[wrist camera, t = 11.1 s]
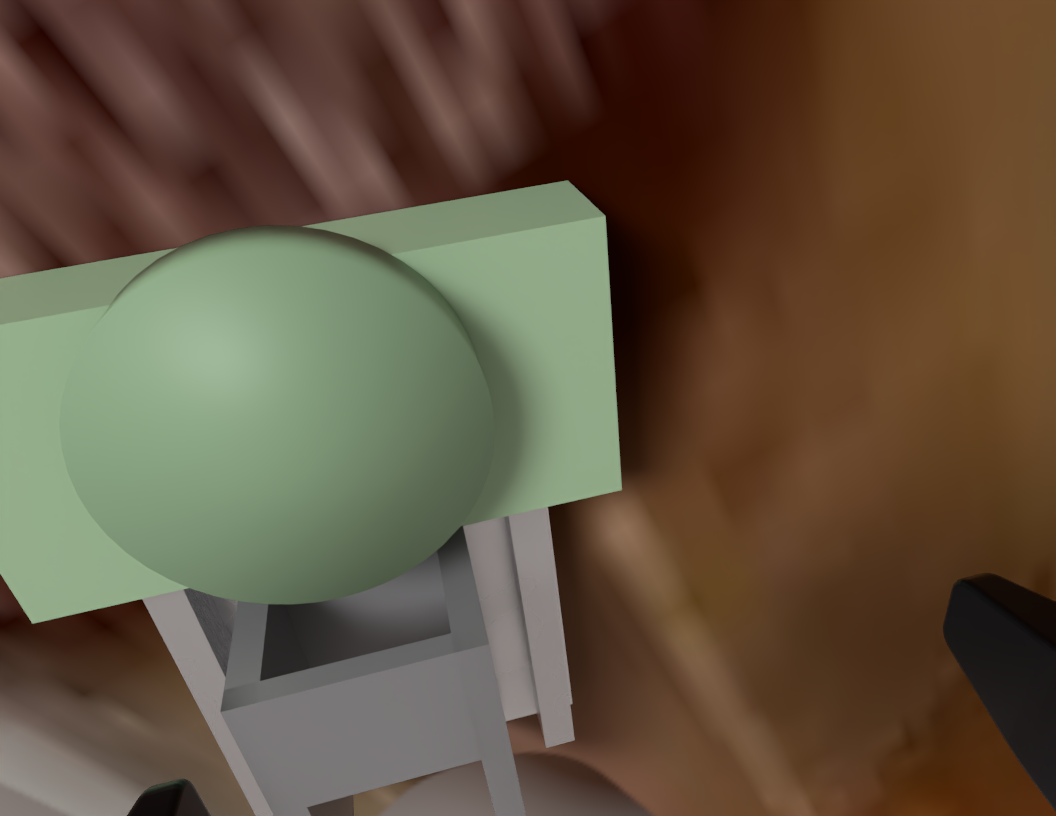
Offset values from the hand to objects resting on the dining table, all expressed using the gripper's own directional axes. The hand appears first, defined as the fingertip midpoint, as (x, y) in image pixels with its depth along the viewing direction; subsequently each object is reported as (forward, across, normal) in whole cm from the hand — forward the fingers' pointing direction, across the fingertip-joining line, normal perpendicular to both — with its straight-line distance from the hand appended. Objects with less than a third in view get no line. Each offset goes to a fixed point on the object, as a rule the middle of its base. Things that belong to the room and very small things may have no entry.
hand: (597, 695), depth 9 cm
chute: (+12, +4, +11) cm, 16 cm away
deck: (+12, +4, +6) cm, 14 cm away
